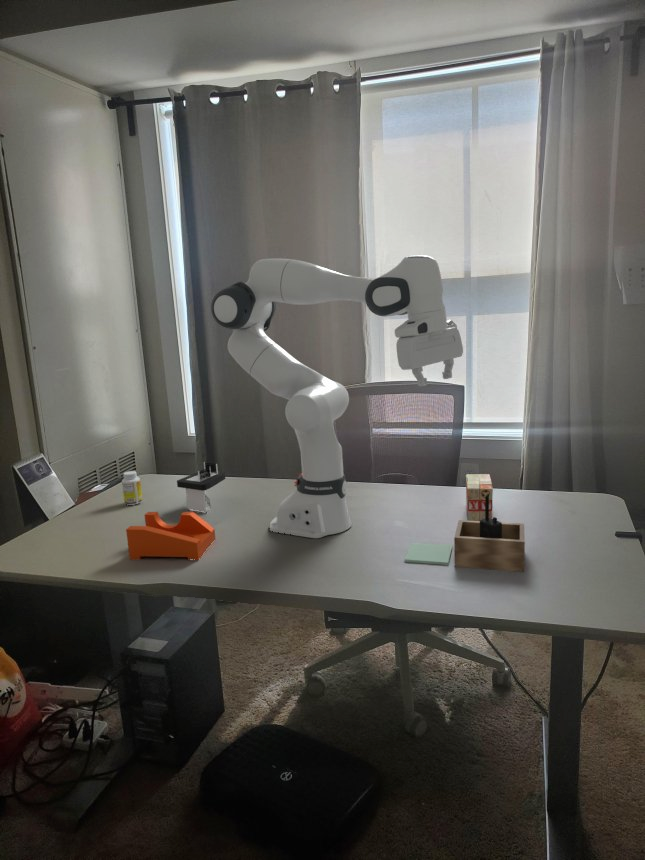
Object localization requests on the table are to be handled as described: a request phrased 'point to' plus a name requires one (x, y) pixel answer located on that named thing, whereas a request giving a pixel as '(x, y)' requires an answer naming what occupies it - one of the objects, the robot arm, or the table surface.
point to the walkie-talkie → (490, 524)
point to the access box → (489, 547)
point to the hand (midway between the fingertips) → (435, 382)
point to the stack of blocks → (478, 496)
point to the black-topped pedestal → (200, 486)
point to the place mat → (429, 553)
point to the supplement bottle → (131, 488)
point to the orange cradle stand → (170, 537)
